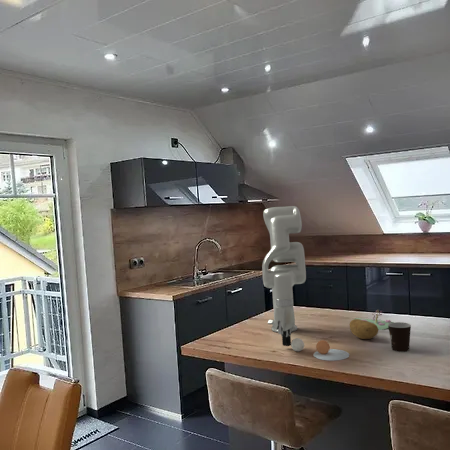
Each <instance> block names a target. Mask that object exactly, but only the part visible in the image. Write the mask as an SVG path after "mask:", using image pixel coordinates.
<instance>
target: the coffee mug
mask: <svg viewBox="0 0 450 450" xmlns="http://www.w3.org/2000/svg"><path fill="white" fill-rule="evenodd" d="M393 322H394V321H393ZM411 327H412V324H411V323H408V322H401V321H397V322H396V321H395V322H394V323H389V324H388V328H387V329H388V331H389V332H388V333H389V340H390V344H391V349H392V351H393V352H398V353H405V352H409V351H410V344H411V343H410V341H411Z"/></svg>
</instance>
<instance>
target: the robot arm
mask: <svg viewBox="0 0 450 450" xmlns="http://www.w3.org/2000/svg"><path fill="white" fill-rule="evenodd" d="M262 213H263V214H262V215H263V220H264V223H265V226H266V228H267V231H268V233H269V239H270V240H269V242H270V250H269V252H267V253H266V255H265V256H264V259H263V260H262V265H261V267H262V270H261V272H262V282H263V286H264V287H265V288H266V289H271V292H272V293H271V294H272V305H273V319H268V320H267V321H268V322H267V325H271V331H272V332H274V333H278V335H281V340H282V343H281V344H282V346H284V347H291V342H292V339H291V337H292V336H291V335H292V332H295V331H297V330H298V326H297V325H296V322H295V321H296V317H295V316H296V315H295V310H294V293H293V292H294V291H293V287H294V286H295V285H301V284H305V282H306V280H307V271H306V270H307V269H306V258H305V256H306V255H305V248H304V245H303V244H302V243H301V242H298V241H293V242H292V241H291V242H290V235H291V234H298V233H301V231H302V227H303V226H302V225H303V222H302V221H303V220H302V216H301V212H300V208H299V207H297V206H296V205H289V206H275V207H274V206H273V207H269V208H265V209H264V210H263V212H262ZM271 261H274V263H290V262H291V263H295V264H277V265H273V266H272V267H271V268H270V269H269V265H270V263H271Z"/></svg>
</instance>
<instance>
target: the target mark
mask: <svg viewBox="0 0 450 450" xmlns="http://www.w3.org/2000/svg"><path fill="white" fill-rule="evenodd" d="M313 357H314V358H316V359H318V360H321V361H328V362H329V361H330V362H333V361H334V362H335V361H342V360H346V359H348V358H349V357H350V353H349V352H348V351H347V350H343V349H335V348H330V349H329V352H328V353H326V354H320V353H319V352H318V351H317V350H316V351H315V352H313Z"/></svg>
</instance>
